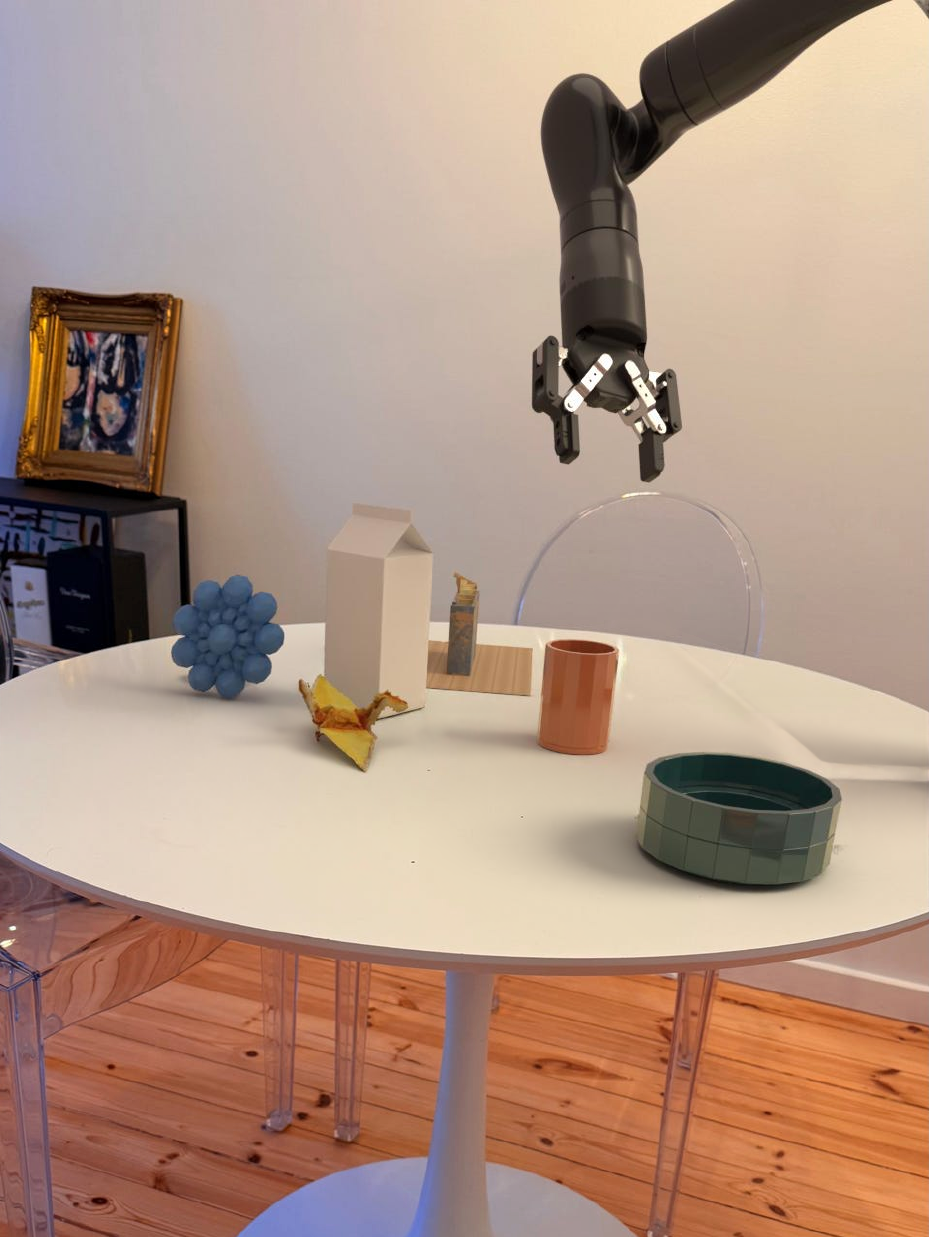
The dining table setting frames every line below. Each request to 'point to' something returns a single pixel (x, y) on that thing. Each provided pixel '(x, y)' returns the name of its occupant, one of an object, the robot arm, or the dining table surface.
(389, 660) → the milk carton
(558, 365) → the robot arm
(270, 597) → the blue sphere cluster flower
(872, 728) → the dining table surface
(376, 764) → the dining table surface
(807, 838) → the bowl
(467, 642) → the rusty post on board
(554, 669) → the cup
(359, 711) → the origami crane
